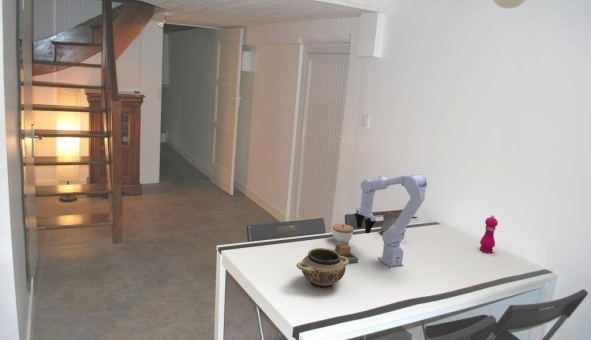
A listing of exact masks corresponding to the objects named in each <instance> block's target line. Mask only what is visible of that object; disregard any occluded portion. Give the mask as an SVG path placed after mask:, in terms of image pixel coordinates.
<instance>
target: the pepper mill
mask: <svg viewBox="0 0 591 340" xmlns="http://www.w3.org/2000/svg"><path fill="white" fill-rule="evenodd" d="M495 217H496V216H495V215H494V214H491V215H490V217H487V218H486V219H485V222H484V223H485V232H484V234H483V236H482V237H481V239H480V242H479V244H480V247H479V251H480V252H482V253H485V254H492V253H493V252H494V251H493V250H494V249H493V248H495V246H496V240H495V236H494V235H495V231H496V228H497V226H498V220H497V219H496V218H495Z"/></svg>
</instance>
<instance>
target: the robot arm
mask: <svg viewBox="0 0 591 340" xmlns="http://www.w3.org/2000/svg"><path fill="white" fill-rule="evenodd" d="M394 185H401V186H402V187H404V188H405V190H406V192H407V193H408V195H409V197H410V199H408V201H407V203H406V205H405V206H404V208H403V209H402V211H401V212H400V214H399V215H398V218H397V220H396V222H395V223H394V224H393V225H392V226H391V227H390V228H389V229H388V230H387V231H385V232H384V233H383V232H382V235H381V238H382V242H383V248H382V249H383V250H382V256H380V257H379V256H378V260H380V261H381V262H383V264H385V265H386V266H388V267H398V266H403V265H404V263H403V258H404V250H403V249H402V247H401V243H402V241H403V240H404V238H405V234H406V232H407V230H406V228H407V226H408V225H409V223H410V222H411V220H413V219H412V217H415V214H416V213H417V212H418V210H419V209H420V207H421V205H422V204H423V202H425V201H424V200H425V199H426V197H425V195H426V190H427V188H428V186H429V185H428V182H427V179H426V177H425V175H424V174H421V173H420V174H405V175H398V176H394V177H390V178H387V177H386V176H383V175H380V176H378V177H377V178H376V177H375V178H374V177H371V178H370V179H364V180H363V181H362V182H361V184H360V189H361V190H362V193H361V199H360V207H356V208H355V209H356V210H355V213H354V216H355V220H356V227H357V228H358V229H360V228H361V229H362V227H363V223H364V225H365V228H364V231H365V232H364V233H365V234H370V233H371V230H372V228H373V226H374V225H375V224H376V223H377V220H376V216H375V215H374V214H373V205H374V204H373V203H374V198H375V194H376V191H380V190H381V191H382V190H386V189H388V188H389V186H394Z"/></svg>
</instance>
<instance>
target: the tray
mask: <svg viewBox="0 0 591 340" xmlns="http://www.w3.org/2000/svg"><path fill="white" fill-rule="evenodd" d="M332 250H333V251H335V249H332ZM348 260H349V263H348V264H347V265H349V264H350V265H351V264H358V263H359V257H358V256H357V255H355V254H354V253H353V252H351V251H350V256H349V258H348ZM342 261H344V262H345V260H342Z"/></svg>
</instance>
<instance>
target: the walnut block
mask: <svg viewBox="0 0 591 340" xmlns="http://www.w3.org/2000/svg"><path fill="white" fill-rule="evenodd" d="M334 250H335V252H337V253H339V254H340V256H343V257H346V258H349V256H350V252H351V246H350V245H349V244H348V243H337V242H336V243H335V248H334Z"/></svg>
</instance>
